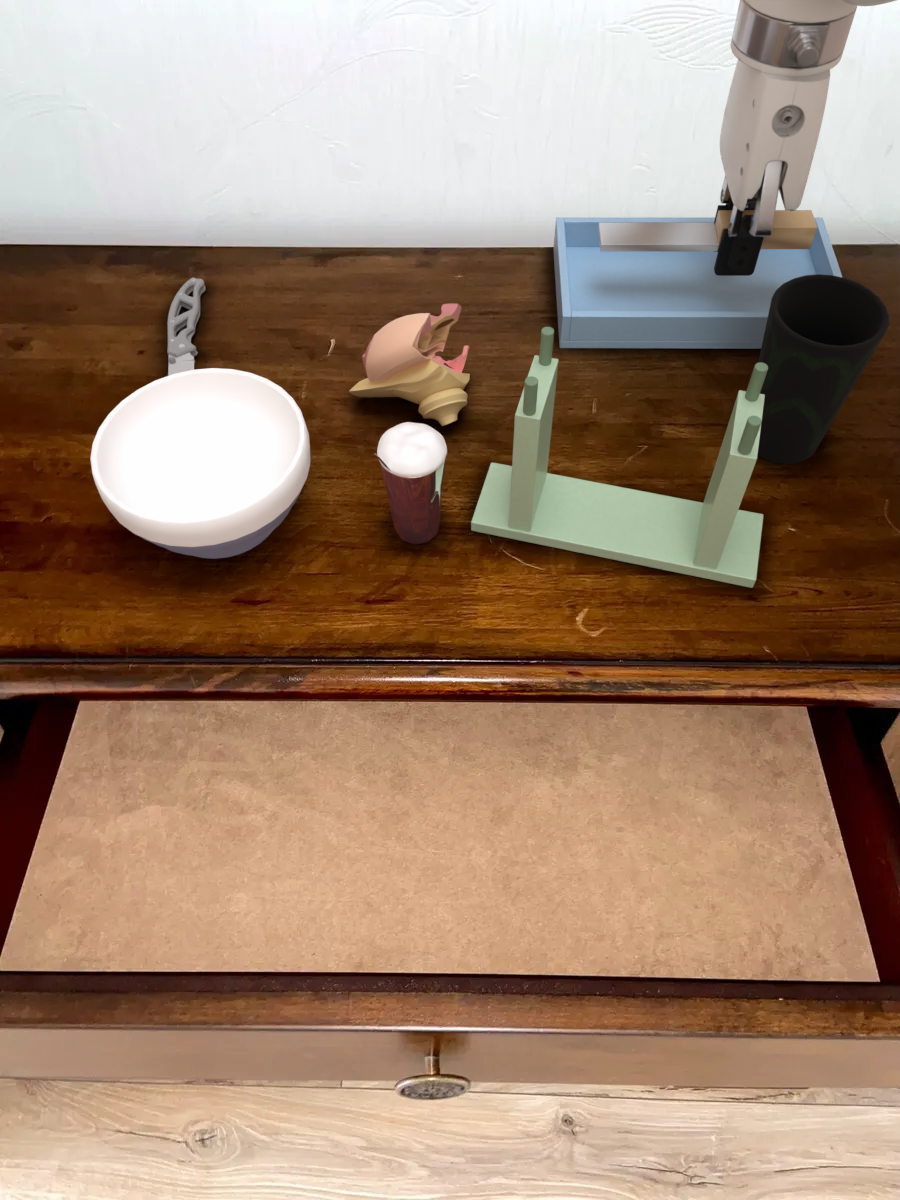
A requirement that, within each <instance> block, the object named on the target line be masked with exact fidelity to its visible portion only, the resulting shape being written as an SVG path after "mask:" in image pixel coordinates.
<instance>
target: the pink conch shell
mask: <svg viewBox="0 0 900 1200" xmlns="http://www.w3.org/2000/svg"><path fill="white" fill-rule="evenodd" d="M440 310H441V313H440V315H439V316H437V315H433V314H431V313H430V312H425V313H424V312H418V313H412V314H407V315H403V316H401V317H397V318H395V319H393V320H391V321H389V322H388V323H386V324H385V325H383V326H382V327H381V328H380V329H379V330H378V331H377V332H376V333H374V334H373V336H372V338H371V340H370V341H369V343H368V345H367V347H366V350H365V352H364V353H363V354H362V356H361V360H362V364H363V368H364V370H365V373H366V378H364V379H362V380H360V381H358V382H357V383H356V384H355V385H354V386H352V387H351V389H349V390H348V392H349V394H351V395H353V396H354V397H358V398H401V399H404V400H406V401H409V402H411V403H414V404H417V405H418V410H417V412H418V413H419V414H420V415H421V416H422V418H423V419H425V420H426V419H432V420H435V421H437V422H438V423H439V424H440V426H441V427H443V426H447V425H449V424H452V423H453V422H456V421H458V415H459V412H460V411H461V410H462V409H463V408H464V407H465V406H467V405H468V397H469V394H468V393H467V392H466V391H464V390H465V388H466V386H467V385H468V383H469V382H470V375H471V373H465V372H463V371H464V367H465V364H466V361H467V358H468V355H469V352H470V349H471V346H470V345H468V344H467V345H463V349H462V353H461V354H459V355H458V356H456V357H455V358H453V359H452V360H450V359H448V360H445V359H443V357H442V356H440V355H436V354H437V353H438V352H440V353H444V349H445V347H446V343H447V340H448V337H449V334H450V329H451V327H452V326H453V325H455V324H457V322H458V321H459V319H460V315H461V313H462V312H461V311H462V306H461V304H459V303H443V304H442V305H441V307H440Z"/></svg>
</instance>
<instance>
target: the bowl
mask: <svg viewBox="0 0 900 1200" xmlns="http://www.w3.org/2000/svg"><path fill="white" fill-rule="evenodd" d="M310 441H311V440H310V433H309V430H308V427H307V423H306V421H305V418H304V416H303V412H302V410H301V408H300V407H299V405H298V404H297V402H296V401H295V399H294V398H293V397H292V395H290V394H289V392H287V391H286V390H285V389H284V388H283V387H282V386H280V385H278V384H276V383H275V382H273V381H272V380H270V379H269V378H266V377H263V376H260V375H259V374H255V373H252V372H250V371H244V370H240V369H233V368H222V367H221V368H219V367H210V368H209V367H208V368H197V369H194V370H190V371H185V372H181V373H176V374H172V375H169V376H168V375H166V376H164V377H161V378H158V379H155V380H153V381H151V382H150V383H148V384H146V385H144V386H142V387H140V388H138V389H136V390H135V391H133V392H132V393H131V394H129V395H128V396H127V397H125V398H124V399H122V400H121V401H120V402H119V403H118V404H117V405H116V406H115V407H114V408H113V409H112V410H111V411H110V412H109V413H108V414H107V416H106V417H105V419H104V420H103V421H102V423H101V424H100V426H99V427H98V429H97V432H96V434H95V436H94V439H93V441H92V445H91V451H90V458H89V460H90V461H89V462H90V467H91V468H90V469H91V475H92V477H93V481H94V484H95V487H96V489H97V491H98V494H99V496H100V498H101V501H102V502H103V503H104V505H105V506H106V508H107V510H108V511H109V513H111V515H112V516H113V517H114V518H115V519H116V520H117V522H118V523H119V524H120V525H122V526H123V527H124V528H126V529H127V530H128V531H129V532H130V533H132V534H134V535H135V536H138V537H140V538H142V539H143V540H144V541H147V542H149V543H152V544H154V545H156V546H158V547H160V548H163V549H166V550H168V551H170V552H173V553H176V554H181V555H186V556H191V557H192V556H193V557H196V558H201V559H214V560H216V559H227V558H231V557H235V556H239V555H241V554H243V553H246V552H248V551H251V550H252V549H254V548H255V547H257V546H259V545H260V544H262V543H263V542H264V541H265V540H266V539H267V538H269V537H270V535H271V534H272V533H273V532H274V530H276V529H277V528H278V527H279V526H280V525H281V524H282V522H284V520H285V519H286V517H287V516H288V515H289V513H290V511H291V509H292V508H293V507H294V505H295V504H296V502H297V500H298V498H299V496H300V494H301V492H302V490H303V488H304V485H305V483H306V481H307V479H308V476H309V472H310V467H311V464H312V463H311V443H310Z"/></svg>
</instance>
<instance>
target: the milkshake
mask: <svg viewBox="0 0 900 1200" xmlns="http://www.w3.org/2000/svg"><path fill="white" fill-rule="evenodd" d="M376 449H377V450H376V453H375V452H374V453H373V454H374V456H375V457H376V458H377V460H378V462H379V463H378V464H379V466H380V469H381V474H382V478H383V482H384V486H385V491H386V496H387V500H388V505H389V510H390V514H391V519H392V523H393V529H394V531H395V532H396V534H397V535H398V537H399V538H400V540H401V541H403V542H406V543H409V544H412V545H419V544H425V543H429V542H430V541H431V540H432V539H434V538H435V537H436V536H437V535H439V530H440V525H441V524H440V523H441V513H442V511H441V510H442V500H443V499H442V498H443V486H444V485H443V484H444V479H445V471H446V463H447V455H448V447H447V443H446V440H445V437H444V435H442V434H441V432H439V431H438V430H436V429H435V428H433V427H432V426H430V425H429V424H426V423H421V422H412V421H406V422H402V423H399V424H396V425H395V426H393V427H390V428H388V429H387V430H386V431H384V433H383V434H382V435H381V436H380V439H379V441H378V444H377V448H376Z"/></svg>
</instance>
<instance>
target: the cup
mask: <svg viewBox="0 0 900 1200" xmlns="http://www.w3.org/2000/svg"><path fill="white" fill-rule="evenodd" d="M842 277H843V276H842ZM842 277H838V276H833V275H821V274H817V275H805V276H802V277H798V278H794V279H792V280H790V281H788V282H786V283H784V284H782V285H781V286H780V287H779V288H778V289H777V290H776V291H775V293H774V295H773V297H772V299H771V304H770V309H769V314H768V318H767V323H766V328H765V333H764V338H763V342H762V347H761V349H760V353H759V357H758V362H757V363H759V362H762V363H765V364H766V365H767V366H768V371H767V374H766V377H765V380H764V382H763V385H762V388H761V391H760V394H764V395H765V398H764V406H763V415H762V423H761V431H760V439H759V447H758V455H757V456H759V457H760V458H762V459H764V460H767V461H769V462H772V463H775V464H782V465H783V464H784V465H791V464H798V463H801V462H804V461H806V460H808V459H809V458H811V457H812V456H813V455H814V454H815V452H817V449H818V448H819V446H820V444H821V442H822V441H823V439H824V437H825V436H826V434H827V432H828V431H829V429H830V427H831V426H832V424H833V422H834V421H835V419H836V417H837V415H838V414H839V412H840V410H841V409H842V407H843V406H844V404H845V402H846V400H847V399H848V397H849V395H850V394H851V392H852V390H853V389H854V387H855V386H856V383H857V382H858V380H859V379H860V376H861V375H862V373H863V372H864V370H865V368H866V367H867V365H868V364H869V361H870V360H871V359H872V357H873V355H874V353H875V351H876V350H877V349H878V347H879V345H880V343H881V341H882V340H883V338H884V336H885V334H886V333H887V330H888V328H889V326H890V314H889V311H888V309H887V306H886V305H885V304H884V302H883V301H882V300H881V298H880V297H879V296H878V295H877V294H876V293H874V292H873V291H872V290H871V289H870V288H868V287H866V286H864V285H863V284H861V283H860V282H856V281H854V280H852V279H849V278H846V277H843V278H842Z"/></svg>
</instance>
